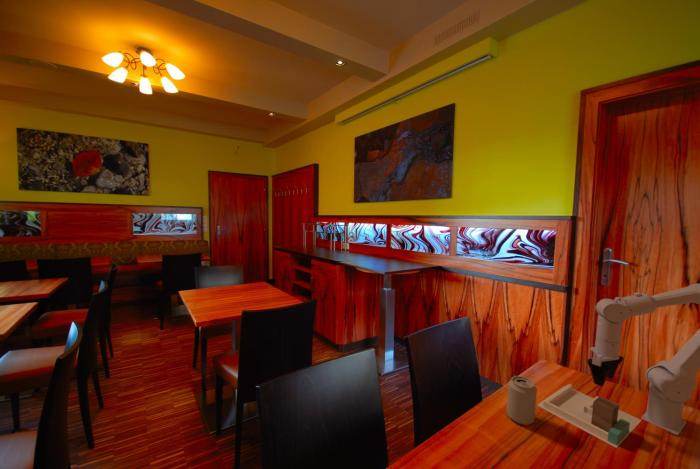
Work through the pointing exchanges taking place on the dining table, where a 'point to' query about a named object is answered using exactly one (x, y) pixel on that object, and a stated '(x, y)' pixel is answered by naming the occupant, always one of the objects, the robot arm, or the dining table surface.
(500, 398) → the dining table surface
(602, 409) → the brown rectangular block
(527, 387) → the can
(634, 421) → the white tray
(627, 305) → the robot arm
